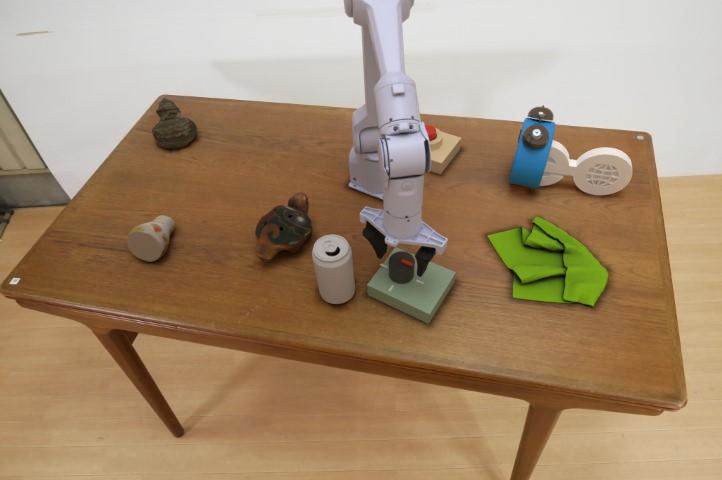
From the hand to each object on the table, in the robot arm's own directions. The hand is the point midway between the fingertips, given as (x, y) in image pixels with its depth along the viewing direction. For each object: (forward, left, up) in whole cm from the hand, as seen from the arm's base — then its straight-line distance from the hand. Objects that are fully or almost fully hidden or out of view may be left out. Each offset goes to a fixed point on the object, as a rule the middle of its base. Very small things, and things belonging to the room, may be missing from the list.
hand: (401, 263), depth 81 cm
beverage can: (-9, -7, -6) cm, 13 cm away
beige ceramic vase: (-46, -15, -6) cm, 49 cm away
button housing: (-13, +35, -6) cm, 38 cm away
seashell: (-67, +10, -6) cm, 68 cm away
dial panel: (+2, 0, -6) cm, 6 cm away
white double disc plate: (+17, +39, -6) cm, 43 cm away
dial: (0, 0, -3) cm, 3 cm away
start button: (-13, +35, -1) cm, 37 cm away
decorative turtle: (-24, -2, -6) cm, 25 cm away
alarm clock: (+9, +37, -6) cm, 39 cm away
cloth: (+20, +18, -6) cm, 28 cm away
